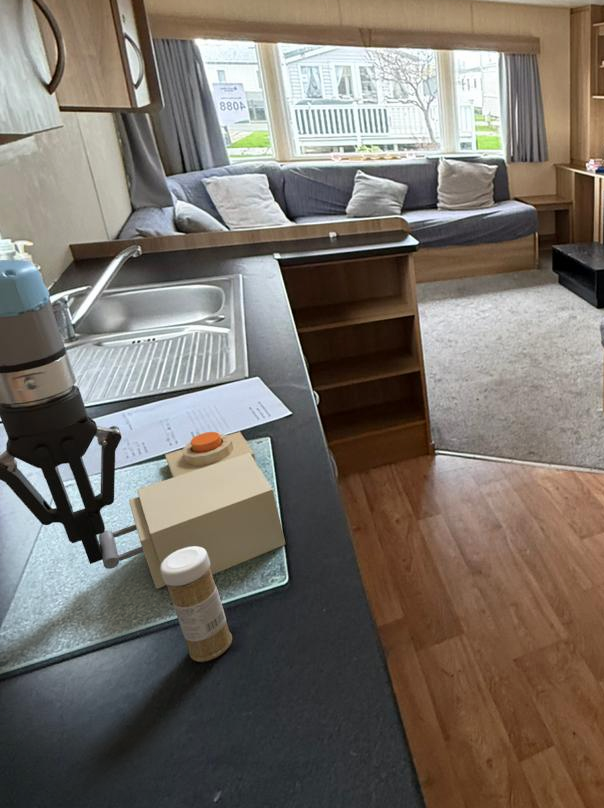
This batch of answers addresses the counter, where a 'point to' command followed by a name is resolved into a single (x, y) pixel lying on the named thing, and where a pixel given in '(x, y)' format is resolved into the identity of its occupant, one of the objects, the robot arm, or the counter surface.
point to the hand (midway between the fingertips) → (95, 556)
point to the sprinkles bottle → (196, 602)
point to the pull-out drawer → (148, 548)
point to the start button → (206, 442)
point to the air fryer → (214, 513)
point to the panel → (207, 455)
